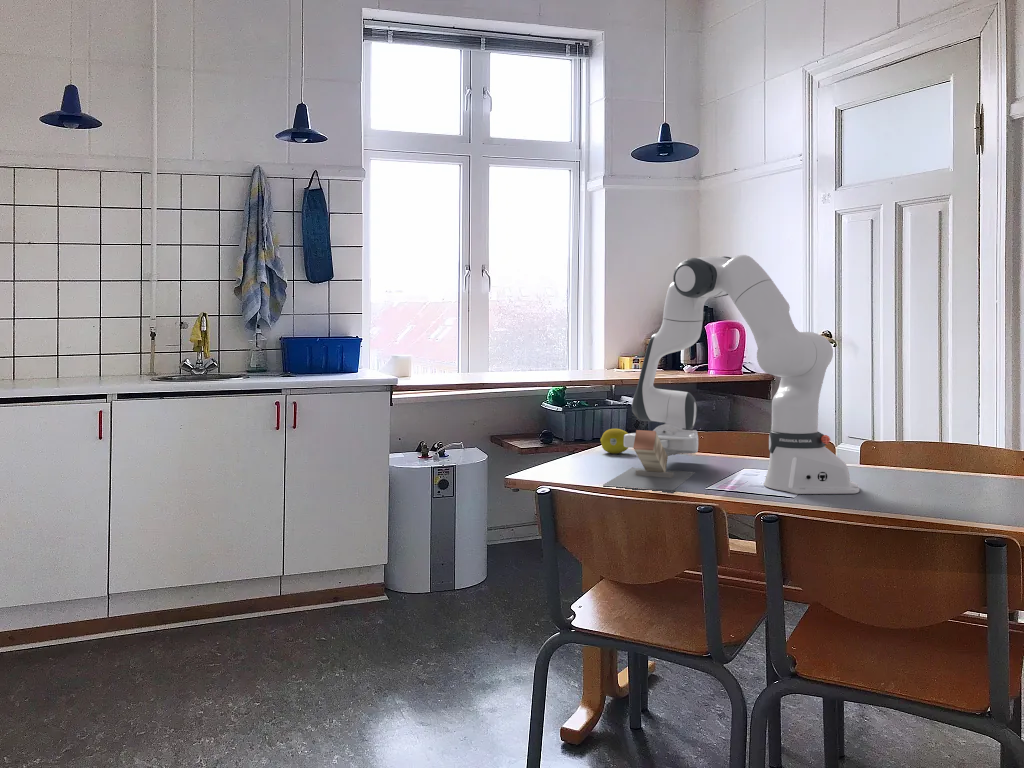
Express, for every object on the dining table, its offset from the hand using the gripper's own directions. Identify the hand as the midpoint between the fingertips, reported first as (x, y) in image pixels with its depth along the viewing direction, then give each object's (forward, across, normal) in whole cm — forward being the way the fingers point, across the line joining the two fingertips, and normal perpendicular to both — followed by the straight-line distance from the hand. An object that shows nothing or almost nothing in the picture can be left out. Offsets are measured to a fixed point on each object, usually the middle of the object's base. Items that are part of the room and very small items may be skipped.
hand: (654, 444), depth 221 cm
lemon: (-37, -22, +8) cm, 43 cm away
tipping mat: (+3, 0, +9) cm, 10 cm away
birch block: (-3, 0, +6) cm, 7 cm away
